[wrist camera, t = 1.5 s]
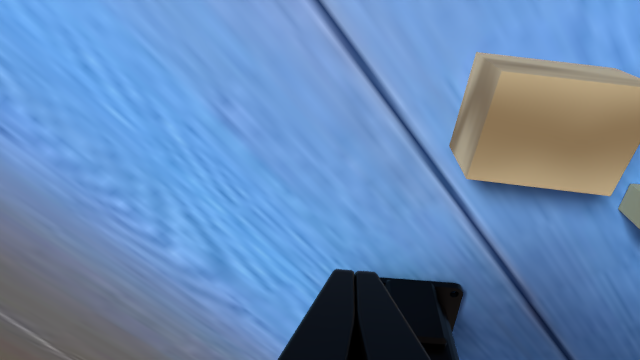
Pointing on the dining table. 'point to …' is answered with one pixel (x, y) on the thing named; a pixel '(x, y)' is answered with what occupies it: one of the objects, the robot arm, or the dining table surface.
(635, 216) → the sage slot bracket
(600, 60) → the dining table surface
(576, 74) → the maple bracket block
